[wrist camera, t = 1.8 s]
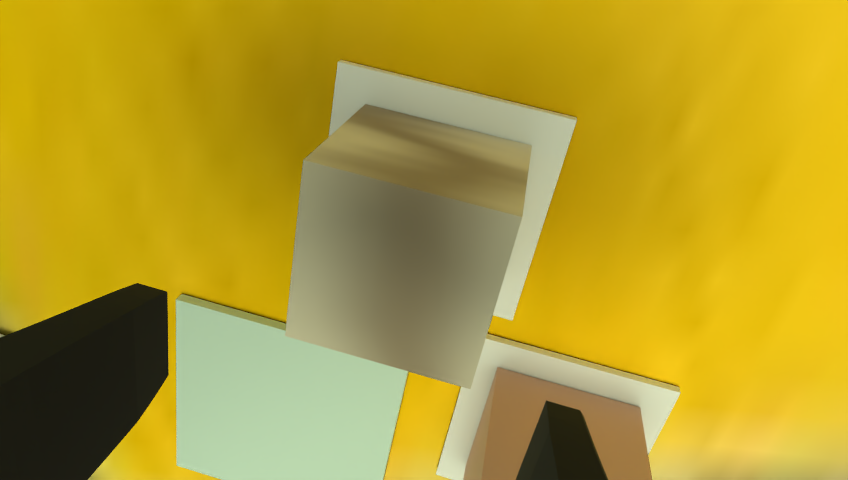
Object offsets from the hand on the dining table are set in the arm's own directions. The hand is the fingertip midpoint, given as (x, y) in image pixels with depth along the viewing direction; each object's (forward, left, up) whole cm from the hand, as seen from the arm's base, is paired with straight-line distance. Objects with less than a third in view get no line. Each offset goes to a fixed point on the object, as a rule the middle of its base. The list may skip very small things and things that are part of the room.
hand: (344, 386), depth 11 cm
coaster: (-4, -11, -9) cm, 15 cm away
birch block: (0, 0, -9) cm, 9 cm away
